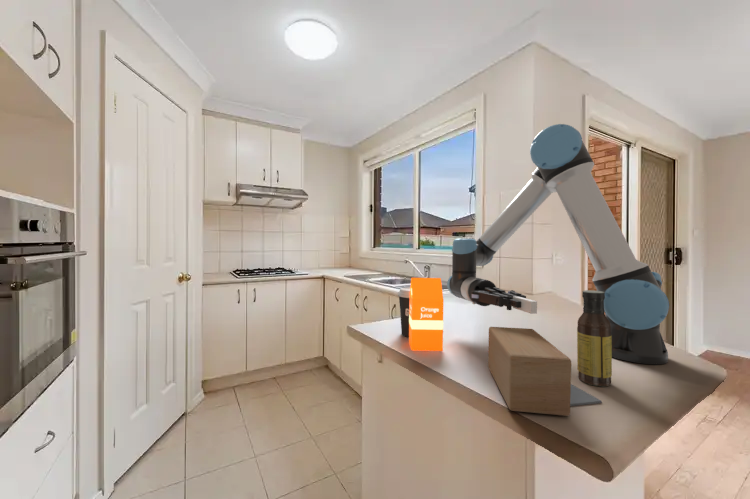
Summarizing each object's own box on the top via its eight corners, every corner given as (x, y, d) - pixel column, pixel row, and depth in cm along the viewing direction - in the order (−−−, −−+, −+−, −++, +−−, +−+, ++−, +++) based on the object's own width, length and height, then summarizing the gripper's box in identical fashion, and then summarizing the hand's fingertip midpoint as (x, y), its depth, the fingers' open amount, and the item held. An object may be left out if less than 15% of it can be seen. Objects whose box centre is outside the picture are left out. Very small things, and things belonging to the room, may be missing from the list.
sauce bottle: (602, 376, 72) (604, 289, 71) (617, 389, 65) (620, 294, 65) (571, 374, 73) (573, 288, 73) (583, 386, 67) (585, 292, 66)
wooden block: (532, 370, 74) (571, 417, 54) (487, 367, 75) (509, 411, 55) (533, 328, 73) (572, 359, 54) (488, 326, 75) (510, 355, 55)
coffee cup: (395, 338, 99) (396, 290, 99) (398, 330, 108) (399, 286, 108) (426, 340, 97) (427, 291, 97) (426, 331, 107) (427, 287, 107)
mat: (501, 376, 71) (501, 374, 71) (547, 372, 73) (547, 371, 73) (546, 408, 57) (546, 406, 57) (601, 402, 60) (601, 400, 60)
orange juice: (408, 341, 95) (409, 276, 95) (437, 342, 95) (438, 276, 95) (411, 350, 88) (412, 279, 87) (443, 351, 88) (444, 279, 87)
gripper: (498, 303, 94) (559, 323, 71) (458, 304, 91) (507, 325, 68) (499, 278, 94) (560, 290, 71) (458, 278, 91) (507, 291, 68)
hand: (533, 307), depth 70 cm, fingers closed
